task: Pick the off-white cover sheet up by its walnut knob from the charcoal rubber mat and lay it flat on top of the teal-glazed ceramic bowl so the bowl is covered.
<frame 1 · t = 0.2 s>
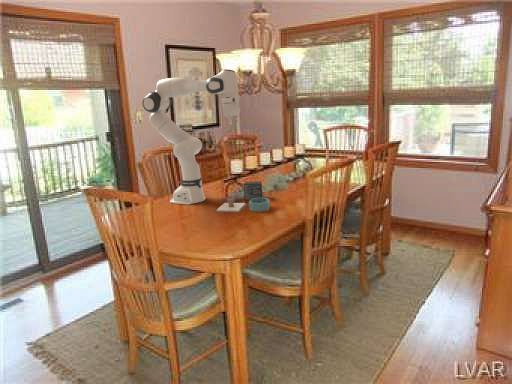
hand: (233, 123, 229), 47 cm above the table, fingers open, 8 cm apart
mat: (231, 208, 229), on the table
cover sheet: (231, 207, 229), resting on mat
bowl: (259, 208, 224), on the table
small box: (254, 199, 244), on the table
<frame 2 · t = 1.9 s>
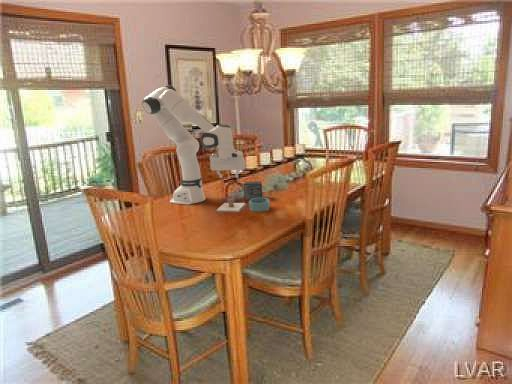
hand: (228, 177, 224), 18 cm above the table, fingers open, 8 cm apart
nothing on the table moved.
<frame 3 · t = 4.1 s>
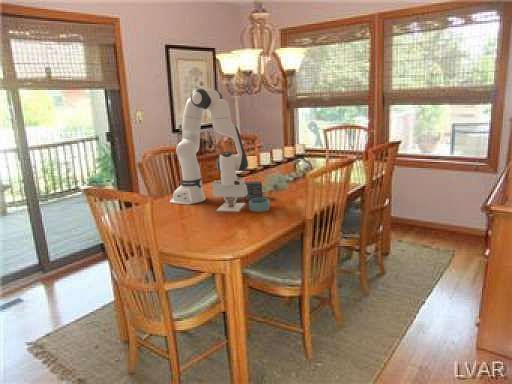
hand: (231, 203, 228), 3 cm above the table, fingers closed on cover sheet, 3 cm apart
cover sheet: (231, 207, 229), resting on mat, touching gripper
everything else where it was.
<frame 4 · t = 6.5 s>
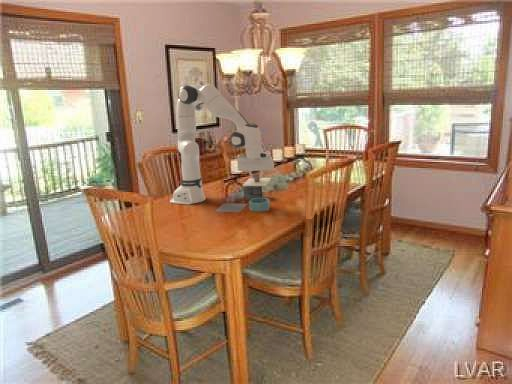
hand: (256, 178, 220), 18 cm above the table, fingers closed on cover sheet, 3 cm apart
cover sheet: (257, 182, 220), point 15 cm above the table, touching gripper
everything else where it was.
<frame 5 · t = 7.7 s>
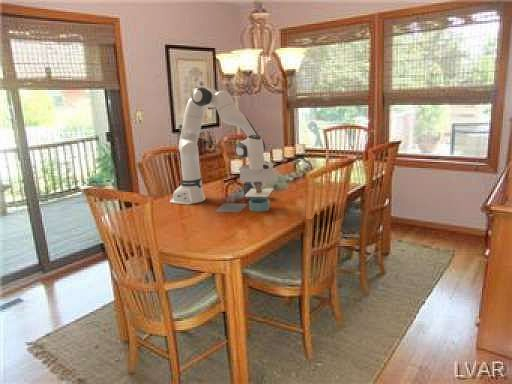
hand: (258, 189, 221), 12 cm above the table, fingers closed on cover sheet, 3 cm apart
cover sheet: (259, 193, 222), point 9 cm above the table, touching gripper
everything else where it was.
when the fingers open (9 cm above the table, at t = 8.9 s): cover sheet drops 1 cm, resting on bowl.
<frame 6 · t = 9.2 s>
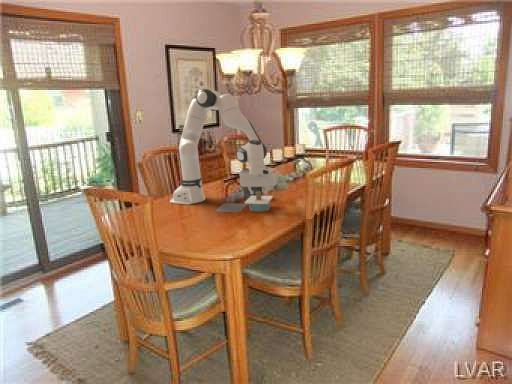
hand: (258, 194, 222), 9 cm above the table, fingers open, 6 cm apart
cover sheet: (259, 200, 223), point 5 cm above the table, touching bowl
everything else where it was.
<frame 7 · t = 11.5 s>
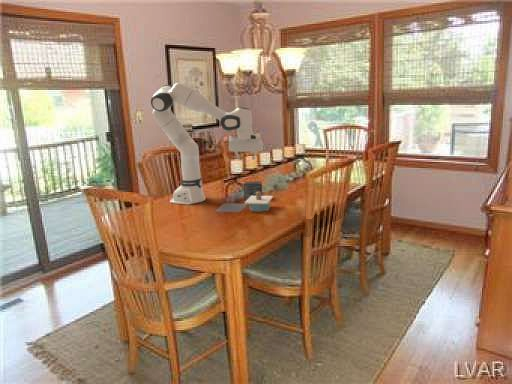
hand: (246, 159, 233), 26 cm above the table, fingers open, 8 cm apart
nothing on the table moved.
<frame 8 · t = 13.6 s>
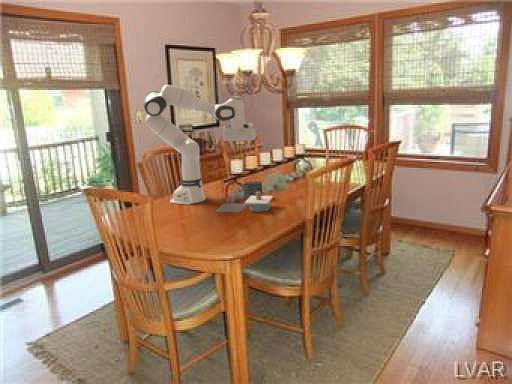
hand: (240, 147, 243), 31 cm above the table, fingers open, 8 cm apart
nothing on the table moved.
at the end: cover sheet 0.1 cm off-centre on the bowl, point 5.0 cm above the bowl's base; cover sheet tilted 0°; the gripper is holding nothing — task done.
